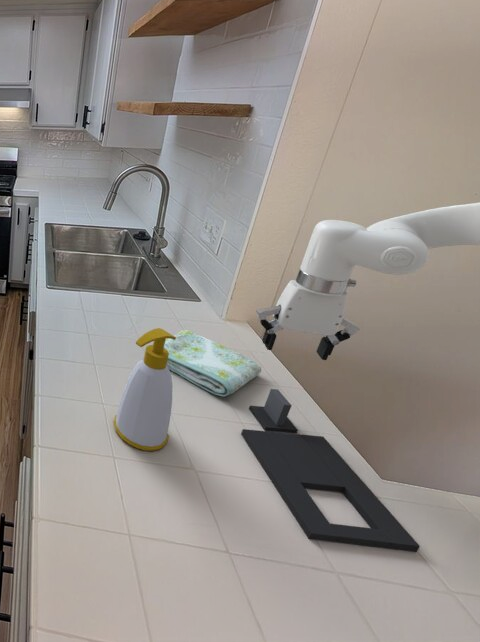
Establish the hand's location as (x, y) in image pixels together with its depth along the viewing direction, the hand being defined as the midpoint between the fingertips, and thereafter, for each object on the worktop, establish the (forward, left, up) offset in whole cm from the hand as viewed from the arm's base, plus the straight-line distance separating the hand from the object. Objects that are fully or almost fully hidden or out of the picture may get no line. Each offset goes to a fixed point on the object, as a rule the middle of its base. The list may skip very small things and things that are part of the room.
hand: (293, 351), depth 84 cm
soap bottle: (+32, +10, -17) cm, 38 cm away
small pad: (+1, +3, -17) cm, 17 cm away
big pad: (+2, +19, -17) cm, 26 cm away
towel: (+9, -15, -17) cm, 25 cm away
